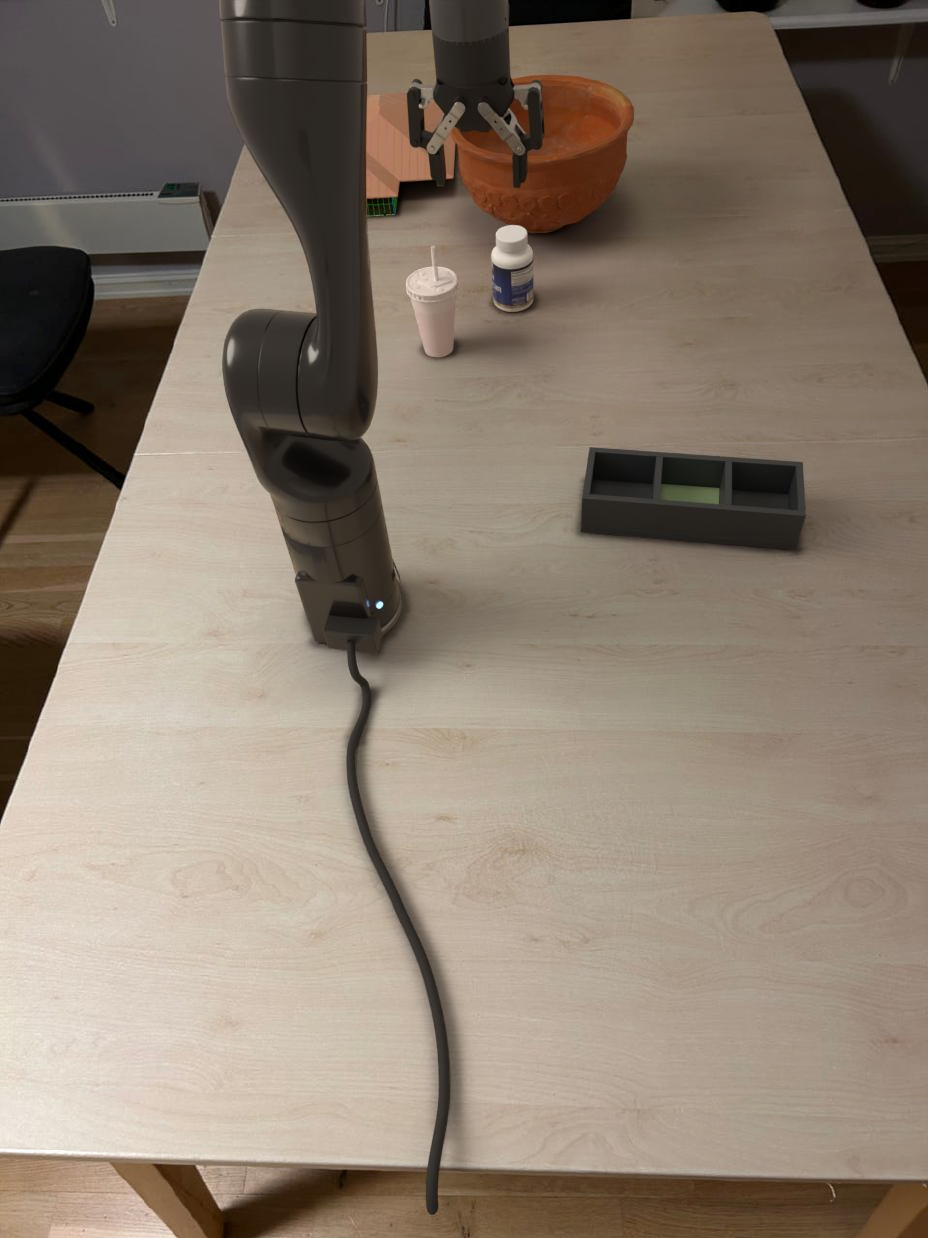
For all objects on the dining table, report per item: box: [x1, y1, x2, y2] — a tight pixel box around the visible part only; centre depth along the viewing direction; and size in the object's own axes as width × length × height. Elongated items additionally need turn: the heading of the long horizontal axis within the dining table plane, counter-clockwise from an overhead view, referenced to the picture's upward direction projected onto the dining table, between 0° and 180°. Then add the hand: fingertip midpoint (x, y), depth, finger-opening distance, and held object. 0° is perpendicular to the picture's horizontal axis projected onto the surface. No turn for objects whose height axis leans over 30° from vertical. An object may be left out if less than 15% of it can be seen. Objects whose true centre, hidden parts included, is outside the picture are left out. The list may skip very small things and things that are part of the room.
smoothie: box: [405, 245, 460, 358], centre depth 114 cm, size 6×6×14 cm
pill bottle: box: [490, 224, 535, 313], centre depth 121 cm, size 5×5×10 cm
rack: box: [580, 446, 807, 551], centre depth 97 cm, size 8×22×5 cm, turn 80°
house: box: [366, 92, 456, 217], centre depth 147 cm, size 23×33×8 cm
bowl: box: [450, 74, 635, 234], centre depth 131 cm, size 25×25×15 cm
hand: (479, 183), depth 103 cm, fingers open, 8 cm apart
